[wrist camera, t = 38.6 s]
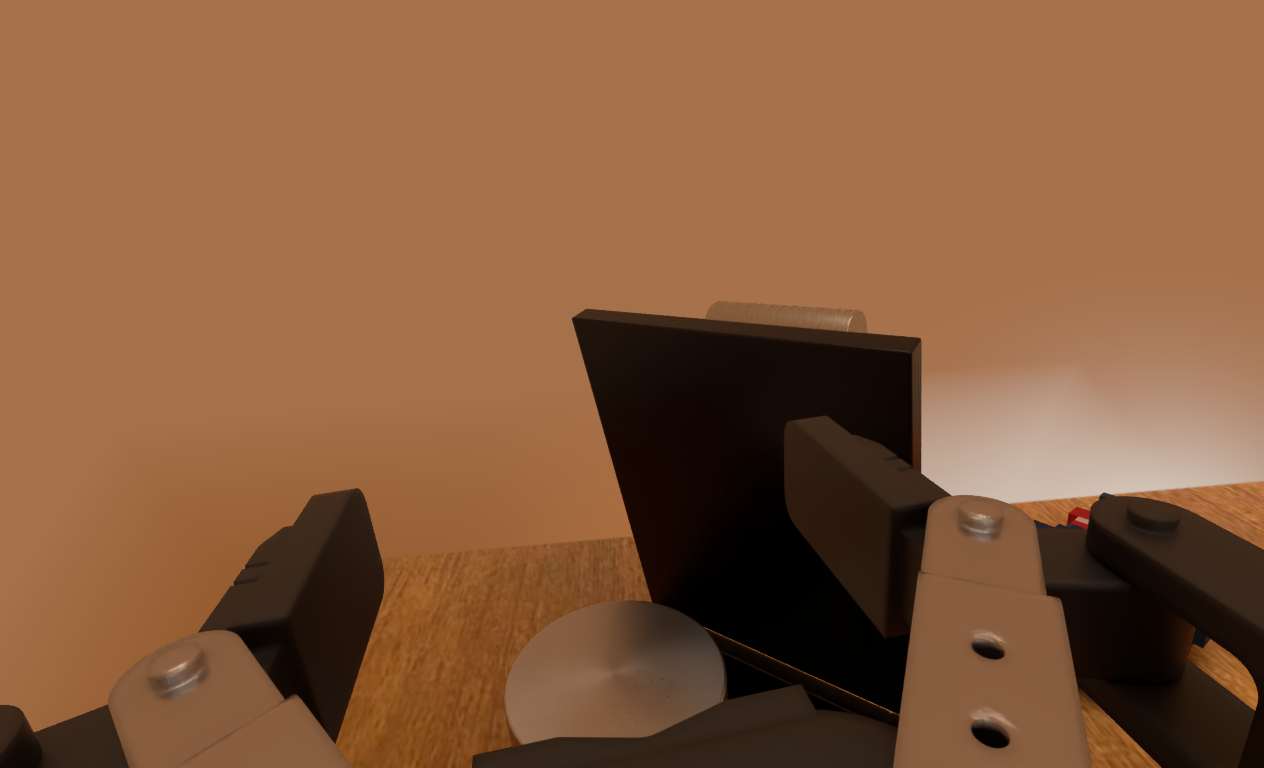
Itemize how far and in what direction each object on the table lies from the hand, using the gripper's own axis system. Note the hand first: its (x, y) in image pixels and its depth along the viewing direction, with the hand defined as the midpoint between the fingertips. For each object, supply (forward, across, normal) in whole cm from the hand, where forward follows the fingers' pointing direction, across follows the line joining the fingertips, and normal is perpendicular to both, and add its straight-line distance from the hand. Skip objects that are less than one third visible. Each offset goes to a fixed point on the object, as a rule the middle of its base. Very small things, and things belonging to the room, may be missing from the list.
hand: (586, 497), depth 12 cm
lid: (+6, -5, +5) cm, 10 cm away
